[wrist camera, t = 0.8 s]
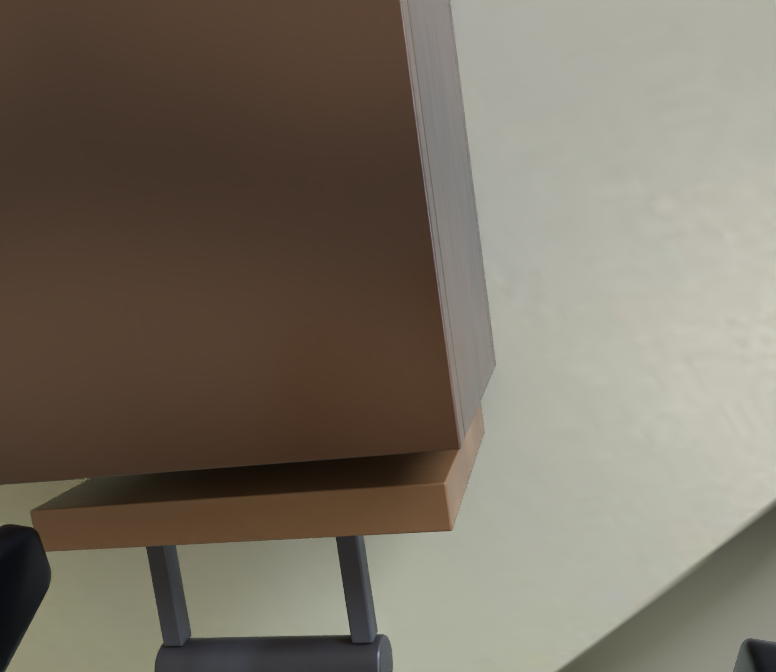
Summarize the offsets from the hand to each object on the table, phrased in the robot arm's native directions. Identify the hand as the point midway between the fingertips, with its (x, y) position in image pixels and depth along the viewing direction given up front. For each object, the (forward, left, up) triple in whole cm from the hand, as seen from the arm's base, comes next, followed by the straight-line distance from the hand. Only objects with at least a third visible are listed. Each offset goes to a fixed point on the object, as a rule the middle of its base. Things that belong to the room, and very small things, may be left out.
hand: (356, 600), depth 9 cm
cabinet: (-1, +9, -18) cm, 20 cm away
